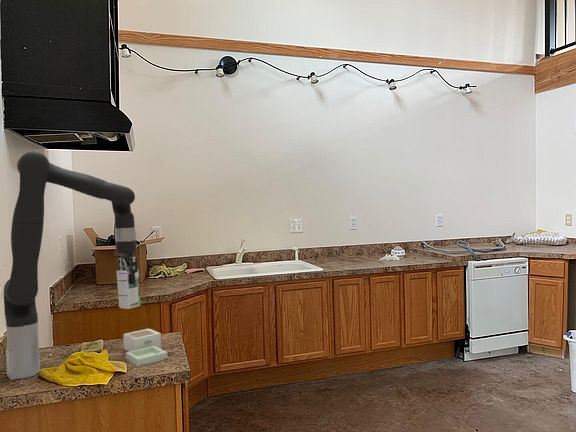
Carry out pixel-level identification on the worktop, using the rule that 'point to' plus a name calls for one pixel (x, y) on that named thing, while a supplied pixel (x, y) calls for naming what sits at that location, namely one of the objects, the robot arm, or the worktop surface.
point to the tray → (146, 356)
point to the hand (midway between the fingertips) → (128, 282)
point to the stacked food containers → (141, 339)
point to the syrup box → (128, 290)
